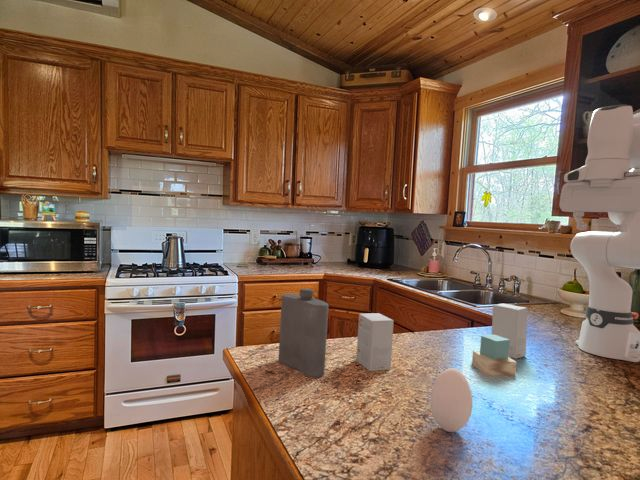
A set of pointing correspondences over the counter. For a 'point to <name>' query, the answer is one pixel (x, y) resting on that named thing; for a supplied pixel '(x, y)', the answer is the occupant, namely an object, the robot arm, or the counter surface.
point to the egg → (451, 400)
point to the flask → (303, 333)
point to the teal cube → (494, 347)
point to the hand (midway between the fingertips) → (600, 231)
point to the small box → (374, 341)
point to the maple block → (494, 365)
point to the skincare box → (511, 327)
